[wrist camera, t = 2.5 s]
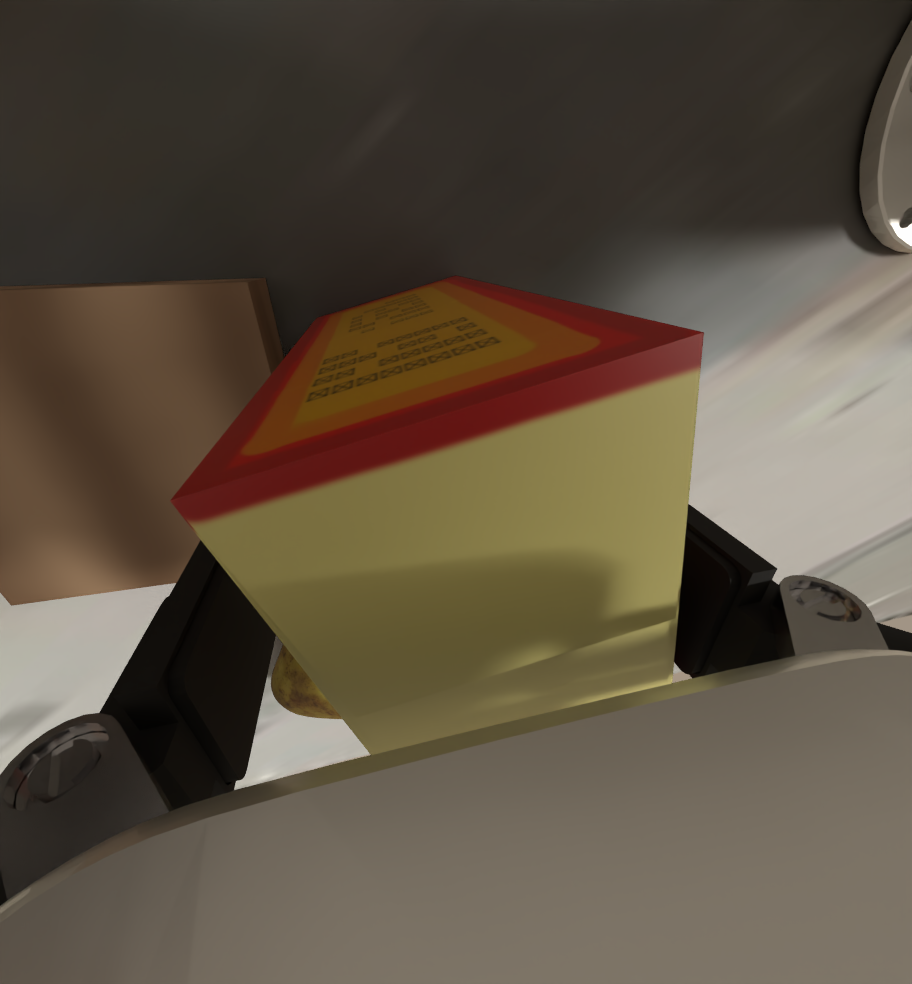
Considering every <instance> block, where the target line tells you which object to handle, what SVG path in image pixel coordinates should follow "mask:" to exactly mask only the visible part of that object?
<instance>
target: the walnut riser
mask: <svg viewBox="0 0 912 984" xmlns="http://www.w3.org/2000/svg"><path fill="white" fill-rule="evenodd" d="M283 359H284V355H283V351H282V346H281V342H280V338H279V334H278V329H277V325H276V321H275V317H274V313H273V308H272V304H271V300H270V296H269V292H268V287H267V283H266V279H265V278H249V279H218V280H186V281H155V282H123V283H91V284H60V285H28V286H0V593H1V594H2V595H3V596H4V597H5V599H6V600H7V601H8V602H9V603H10V605H18V604H26V603H33V602H40V601H47V600H55V599H62V598H69V597H76V596H84V595H91V594H98V593H105V592H113V591H120V590H127V589H135V588H142V587H149V586H156V585H164V584H171V583H177V581H178V579H179V578H180V576H181V574H182V572H183V571H184V569H185V567H186V565H187V563H188V562H189V560H190V558H191V556H192V554H193V553H194V551H195V549H196V547H197V545H198V544H199V542H200V540H201V539H200V538H199V537H198V536H197V534H196V533H195V532H194V531H193V529H192V528H191V527H190V526H189V524H188V523H187V522H186V521H185V519H184V518H183V517H182V516H181V514H180V513H179V512H178V510H177V509H176V508H175V507H174V505H173V504H172V503H171V502H170V500H171V499H172V498H173V496H174V495H175V494H176V493H177V491H178V490H179V489H180V488H181V486H182V485H183V484H184V483H185V481H186V480H187V479H188V478H189V476H190V475H191V474H192V473H193V471H194V470H195V469H196V468H197V466H198V465H199V464H200V463H201V461H202V460H203V459H204V458H205V456H206V455H207V454H208V453H209V451H210V450H211V449H212V448H213V446H214V445H215V444H216V443H217V441H218V440H219V439H220V438H221V436H222V435H223V434H224V433H225V431H226V430H227V429H228V428H229V426H230V425H231V424H232V423H233V422H234V420H235V419H236V418H237V417H238V415H239V414H240V413H241V412H242V410H243V409H244V408H245V407H246V405H247V404H248V403H249V402H250V400H251V399H252V398H253V397H254V395H255V394H256V393H257V392H258V390H259V389H260V388H261V387H262V385H263V384H264V383H265V382H266V380H267V379H268V378H269V377H270V375H271V374H272V373H273V372H274V370H275V369H276V368H277V367H278V365H279V364H280V363H281V362H282V360H283Z"/></svg>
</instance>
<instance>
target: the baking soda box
mask: <svg viewBox="0 0 912 984" xmlns="http://www.w3.org/2000/svg"><path fill="white" fill-rule="evenodd" d="M703 335H704V332H700V331H695V330H691V329H687V328H682V327H678V326H674V325H669V324H665V323H660V322H656V321H652V320H647V319H643V318H639V317H634V316H630V315H626V314H621V313H617V312H612V311H608V310H604V309H599V308H595V307H591V306H586V305H582V304H578V303H573V302H569V301H564V300H560V299H556V298H551V297H547V296H543V295H538V294H534V293H530V292H525V291H521V290H516V289H512V288H508V287H503V286H499V285H495V284H490V283H486V282H482V281H477V280H473V279H468V278H464V277H460V276H453V277H449V278H446V279H443V280H440V281H436V282H433V283H430V284H426V285H423V286H420V287H417V288H413V289H410V290H407V291H403V292H400V293H397V294H394V295H390V296H387V297H384V298H380V299H377V300H374V301H371V302H367V303H364V304H361V305H357V306H354V307H351V308H348V309H344V310H341V311H338V312H334V313H331V314H328V315H325V316H321V317H318V318H316V319H315V321H314V322H313V323H312V324H311V326H310V327H309V328H308V329H307V331H306V332H305V333H304V334H303V336H302V337H301V338H300V339H299V341H298V342H297V343H296V344H295V346H294V347H293V348H292V349H291V350H290V352H289V353H288V354H287V355H286V357H285V358H284V359H283V360H282V362H281V363H280V364H279V365H278V367H277V368H276V369H275V370H274V372H273V373H272V374H271V375H270V377H269V378H268V379H267V380H266V382H265V383H264V384H263V385H262V387H261V388H260V389H259V390H258V392H257V393H256V394H255V395H254V397H253V398H252V399H251V400H250V402H249V403H248V404H247V405H246V407H245V408H244V409H243V410H242V412H241V413H240V414H239V415H238V417H237V418H236V419H235V420H234V422H233V423H232V424H231V425H230V426H229V428H228V429H227V430H226V431H225V433H224V434H223V435H222V436H221V438H220V439H219V440H218V441H217V443H216V444H215V445H214V446H213V448H212V449H211V450H210V451H209V453H208V454H207V455H206V456H205V458H204V459H203V460H202V461H201V463H200V464H199V465H198V466H197V468H196V469H195V470H194V471H193V473H192V474H191V475H190V476H189V478H188V479H187V480H186V481H185V483H184V484H183V485H182V486H181V488H180V489H179V490H178V491H177V493H176V494H175V495H174V496H173V498H172V499H171V500H170V502H171V503H172V504H173V505H174V507H175V508H176V509H177V510H178V512H179V513H180V514H181V516H182V517H183V518H184V519H185V521H186V522H187V523H188V524H189V526H190V527H191V528H192V529H193V531H194V532H195V533H196V534H197V536H198V537H199V538H200V539H201V541H202V542H203V543H204V545H205V546H206V547H207V548H208V550H209V551H210V552H211V553H212V555H213V556H214V557H215V558H216V560H217V561H218V562H219V563H220V565H221V566H222V567H223V569H224V570H225V571H226V572H227V574H228V575H229V576H230V577H231V579H232V580H233V581H234V582H235V584H236V585H237V586H238V587H239V589H240V590H241V591H242V593H243V594H244V595H245V596H246V598H247V599H248V600H249V601H250V603H251V604H252V605H253V606H254V608H255V609H256V610H257V611H258V613H259V614H260V615H261V617H262V618H263V619H264V620H265V622H266V623H267V624H268V625H269V627H270V628H271V629H272V630H273V632H274V633H275V634H276V635H277V637H278V638H279V639H280V641H281V642H282V643H283V644H284V646H285V647H286V648H287V649H288V651H289V652H290V653H291V654H292V656H293V657H294V658H295V659H296V661H297V662H298V663H299V665H300V666H301V667H302V668H303V670H304V671H305V672H306V673H307V675H308V676H309V677H310V678H311V680H312V681H313V682H314V683H315V685H316V686H317V687H318V689H319V690H320V691H321V692H322V694H323V695H324V696H325V697H326V699H327V700H328V701H329V702H330V704H331V705H332V706H333V707H334V709H335V710H336V711H337V713H338V714H339V715H340V716H341V718H342V719H343V720H344V721H345V723H346V724H347V725H348V726H349V728H350V729H351V730H352V731H353V733H354V734H355V735H356V737H357V738H358V739H359V740H360V742H361V743H362V744H363V745H364V747H365V748H366V749H367V750H368V752H369V753H370V754H371V755H374V754H378V753H382V752H386V751H390V750H394V749H398V748H402V747H407V746H411V745H415V744H419V743H423V742H427V741H431V740H435V739H439V738H443V737H448V736H452V735H456V734H460V733H464V732H468V731H472V730H476V729H481V728H485V727H489V726H493V725H497V724H501V723H506V722H510V721H514V720H518V719H522V718H527V717H531V716H535V715H539V714H543V713H547V712H552V711H556V710H560V709H564V708H569V707H573V706H577V705H581V704H585V703H590V702H594V701H598V700H602V699H607V698H611V697H615V696H619V695H623V694H628V693H632V692H636V691H641V690H645V689H649V688H654V687H658V686H662V685H667V684H671V683H672V678H673V667H674V656H675V645H676V634H677V623H678V611H679V600H680V589H681V578H682V567H683V556H684V545H685V534H686V523H687V512H688V501H689V490H690V479H691V468H692V457H693V446H694V435H695V423H696V412H697V401H698V390H699V379H700V368H701V357H702V346H703Z"/></svg>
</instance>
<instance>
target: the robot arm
mask: <svg viewBox="0 0 912 984" xmlns="http://www.w3.org/2000/svg"><path fill="white" fill-rule="evenodd" d="M859 192H860V198H861V203H862V209H863V215H864V217H865V219H866V221H867V224H868V226H869V228H870V230H871V232H872V233H873V234H874V236H875V237H876V238H877V239H878V240H879V241H880V242H881V243H882V244H883V245H885V246H887V247H889V248H891V249H893V250H895V251H898V252H906V253H912V20H911V22H910V24H909V25H908V27H907V29H906V31H905V33H904V35H903V37H902V39H901V41H900V42H899V44H898V46H897V48H896V50H895V52H894V54H893V56H892V58H891V60H890V63H889V65H888V67H887V70H886V72H885V75H884V77H883V80H882V82H881V84H880V87H879V89H878V92H877V94H876V97H875V100H874V104H873V107H872V110H871V114H870V117H869V121H868V124H867V127H866V131H865V136H864V142H863V148H862V154H861V160H860V183H859ZM776 570H777V568H776V567H774V566H773V565H771V564H770V563H769V562H767V561H766V560H765V559H763V558H762V557H760V556H759V555H758V554H756V553H755V552H754V551H752V550H751V549H749V548H748V547H747V546H745V545H744V544H743V543H741V542H740V541H739V540H737V539H736V538H734V537H733V536H732V535H730V534H729V533H728V532H726V531H725V530H723V529H722V528H721V527H719V526H718V525H717V524H715V523H714V522H712V521H711V520H710V519H708V518H707V517H706V516H704V515H703V514H702V513H700V512H699V511H697V510H696V509H695V508H693V507H692V506H691V505H689V504H688V512H687V523H686V534H685V545H684V556H683V567H682V578H681V589H680V600H679V611H678V623H677V634H676V645H675V656H674V662H675V664H676V665H677V666H678V667H679V669H680V670H681V671H682V672H684V673H686V674H689V675H690V676H691V677H692V679H688V680H684V681H680V682H676V683H671V684H667V685H662V686H658V687H654V688H649V689H645V690H641V691H636V692H632V693H628V694H623V695H619V696H615V697H611V698H607V699H602V700H598V701H594V702H590V703H585V704H581V705H577V706H573V707H569V708H564V709H560V710H556V711H552V712H547V713H543V714H539V715H535V716H531V717H527V718H522V719H518V720H514V721H510V722H506V723H501V724H497V725H493V726H489V727H485V728H481V729H476V730H472V731H468V732H464V733H460V734H456V735H452V736H448V737H443V738H439V739H435V740H431V741H427V742H423V743H419V744H415V745H411V746H407V747H402V748H398V749H394V750H390V751H386V752H382V753H378V754H374V755H370V756H366V757H361V758H357V759H353V760H349V761H345V762H341V763H337V764H333V765H329V766H325V767H322V768H318V769H314V770H310V771H306V772H302V773H299V774H295V775H291V776H287V777H283V778H279V779H276V780H272V781H268V782H264V783H260V784H257V785H253V786H249V787H245V788H241V789H238V790H234V787H235V783H236V781H237V780H241V779H243V778H244V776H245V774H246V771H247V767H248V762H249V757H250V753H251V748H252V743H253V739H254V734H255V729H256V725H257V720H258V715H259V711H260V706H261V701H262V697H263V692H264V688H265V683H266V678H267V674H268V669H269V664H270V660H271V655H272V650H273V646H274V641H275V636H276V634H275V633H274V632H273V630H272V629H271V628H270V627H269V625H268V624H267V623H266V622H265V620H264V619H263V618H262V617H261V615H260V614H259V613H258V611H257V610H256V609H255V608H254V606H253V605H252V604H251V603H250V601H249V600H248V599H247V598H246V596H245V595H244V594H243V593H242V591H241V590H240V589H239V587H238V586H237V585H236V584H235V582H234V581H233V580H232V579H231V577H230V576H229V575H228V574H227V572H226V571H225V570H224V569H223V567H222V566H221V565H220V563H219V562H218V561H217V560H216V558H215V557H214V556H213V555H212V553H211V552H210V551H209V550H208V548H207V547H206V546H205V545H204V543H203V542H202V541H201V540H200V542H199V544H198V545H197V547H196V549H195V551H194V553H193V554H192V556H191V558H190V560H189V562H188V563H187V565H186V567H185V569H184V571H183V572H182V574H181V576H180V578H179V579H178V581H177V583H176V585H175V587H174V588H173V590H172V592H171V594H170V596H169V597H167V598H166V599H165V600H164V601H163V602H162V604H161V606H160V607H159V609H158V611H157V613H156V614H155V616H154V618H153V620H152V621H151V623H150V625H149V627H148V628H147V630H146V632H145V634H144V635H143V637H142V639H141V641H140V642H139V644H138V646H137V648H136V649H135V651H134V653H133V655H132V657H131V658H130V660H129V662H128V664H127V665H126V667H125V669H124V671H123V672H122V674H121V676H120V678H119V679H118V681H117V683H116V685H115V686H114V688H113V690H112V692H111V693H110V695H109V697H108V699H107V701H106V702H105V704H104V706H103V708H102V709H101V711H100V713H95V714H88V715H83V716H80V717H77V718H74V719H71V720H68V721H66V722H64V723H62V724H60V725H58V726H56V727H55V728H53V729H51V730H49V731H47V732H46V733H44V734H43V735H42V736H40V737H39V738H37V739H36V740H35V741H33V742H32V743H31V744H29V745H28V746H27V747H26V748H25V749H24V750H22V751H21V752H20V753H19V754H18V755H17V756H16V757H15V758H14V759H13V760H12V761H11V762H10V763H9V764H8V766H7V767H6V768H5V770H4V771H3V772H2V773H1V775H0V984H912V633H909V632H906V631H903V630H899V629H896V628H892V627H890V626H886V625H883V624H880V623H877V622H876V621H875V619H874V617H873V615H872V613H871V611H870V610H869V608H868V607H867V606H866V604H865V603H864V602H862V601H861V600H860V599H859V598H858V597H857V596H855V595H854V594H852V593H850V592H849V591H847V590H846V589H844V588H842V587H840V586H838V585H835V584H833V583H831V582H828V581H825V580H822V579H819V578H816V577H810V576H804V575H793V576H789V577H786V578H784V579H783V580H782V581H781V582H780V584H779V585H778V584H777V583H775V582H774V581H773V580H772V578H773V576H774V574H775V572H776Z"/></svg>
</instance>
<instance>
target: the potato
mask: <svg viewBox="0 0 912 984" xmlns="http://www.w3.org/2000/svg"><path fill="white" fill-rule="evenodd" d="M271 688H272V692H273V695H274V697H275V699H276V700H277V701H278V703H280V704H281V705H282V706H283V707H284V708H286V709H287V710H289V711H291V712H293V713H295V714H298V715H303V716H307V717H315V718H329V719H342V718H341V716H340V715H339V714H338V713H337V711H336V710H335V709H334V707H333V706H332V705H331V704H330V702H329V701H328V700H327V699H326V697H325V696H324V695H323V694H322V692H321V691H320V690H319V689H318V687H317V686H316V685H315V683H314V682H313V681H312V680H311V678H310V677H309V676H308V675H307V673H306V672H305V671H304V670H303V668H302V667H301V666H300V665H299V663H298V662H297V661H296V659H295V658H294V657H293V656H292V654H291V653H290V652H289V651H288V649H287V648H286V647H285V646H284V644H283V646H282V648H281V651H280V654H279V657H278V659H277V661H276V664H275V667H274V669H273V673H272V677H271Z"/></svg>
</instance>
